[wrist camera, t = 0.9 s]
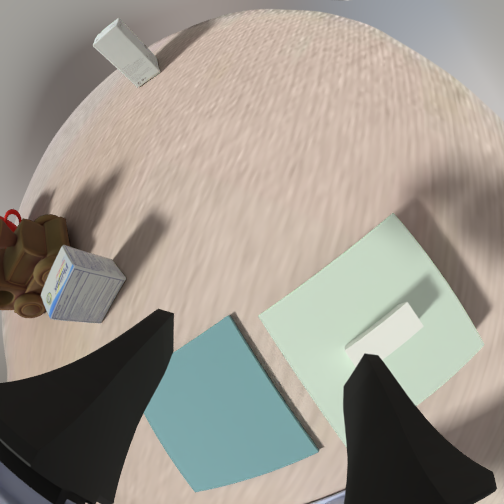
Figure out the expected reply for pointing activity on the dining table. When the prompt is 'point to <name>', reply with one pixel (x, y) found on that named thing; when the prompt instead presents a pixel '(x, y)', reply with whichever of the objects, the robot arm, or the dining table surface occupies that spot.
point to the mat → (223, 413)
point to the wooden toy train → (29, 262)
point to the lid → (373, 321)
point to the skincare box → (127, 53)
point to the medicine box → (81, 286)
